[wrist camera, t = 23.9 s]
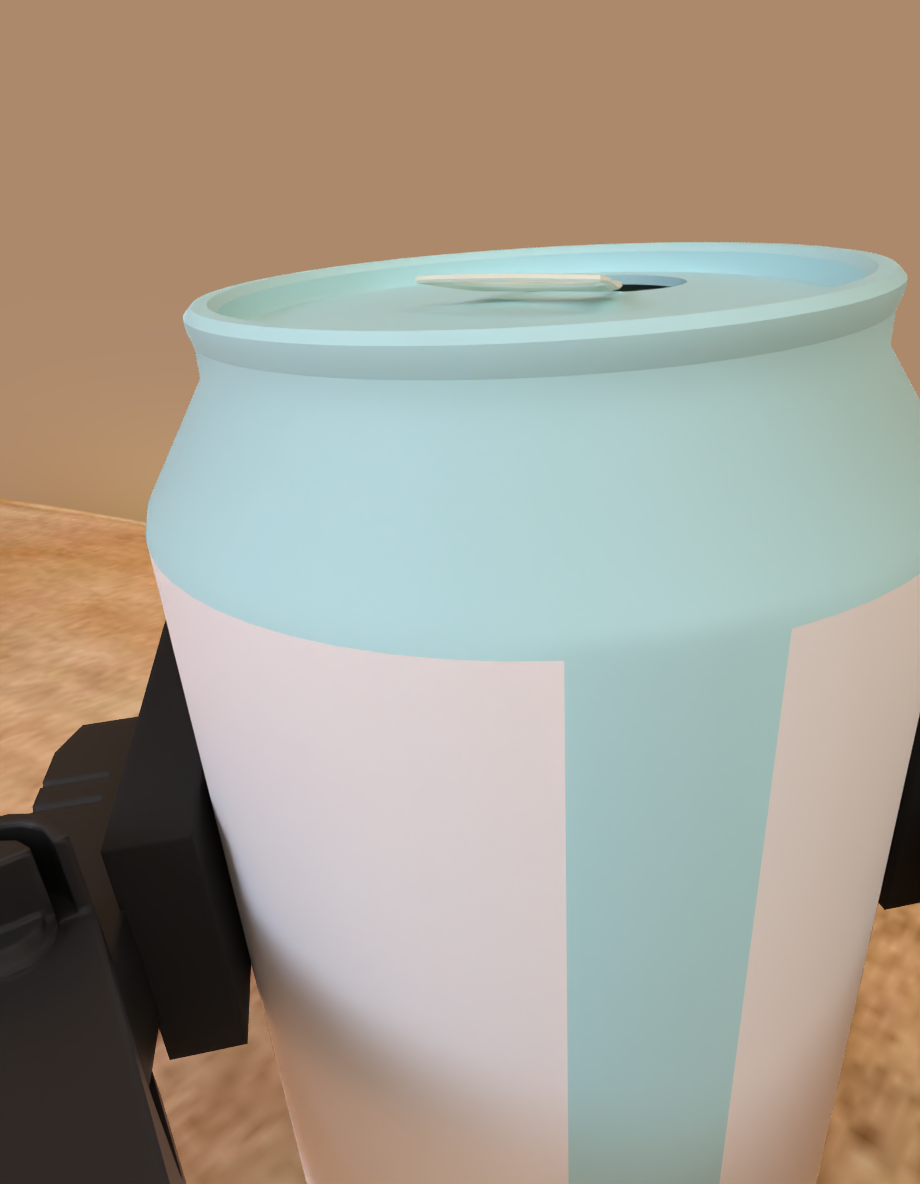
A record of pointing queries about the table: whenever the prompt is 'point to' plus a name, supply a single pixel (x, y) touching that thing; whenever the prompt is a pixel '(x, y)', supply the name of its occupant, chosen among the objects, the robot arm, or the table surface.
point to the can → (552, 694)
